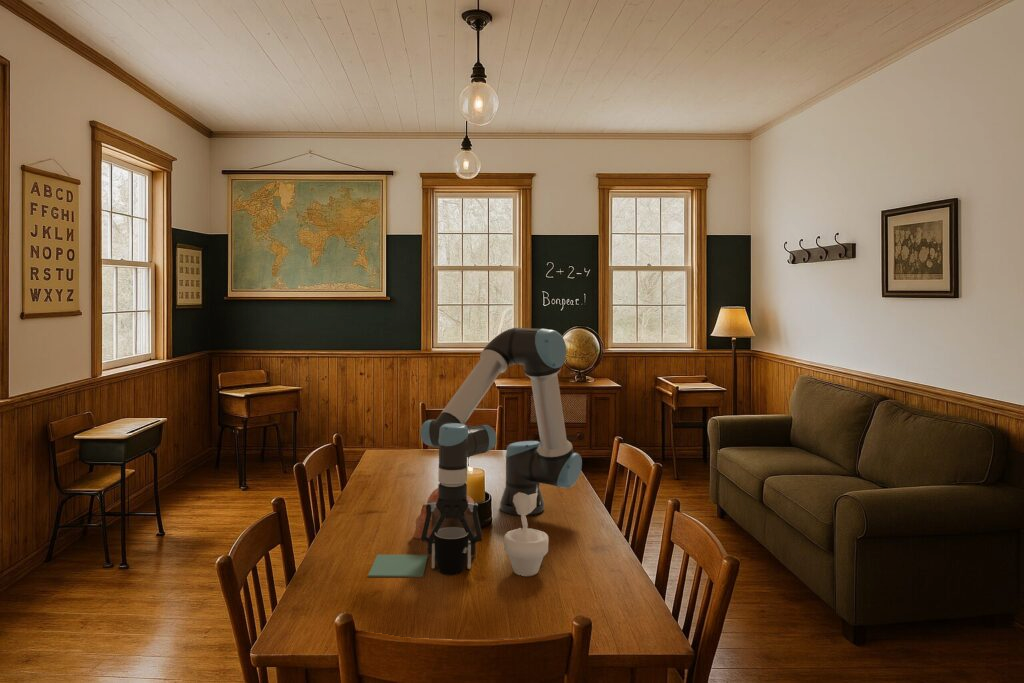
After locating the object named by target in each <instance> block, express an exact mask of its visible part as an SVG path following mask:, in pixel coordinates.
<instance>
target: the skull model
mask: <svg viewBox="0 0 1024 683" xmlns="http://www.w3.org/2000/svg"><path fill="white" fill-rule="evenodd" d="M437 501H438V487H436V488H435V489H434V490H433V491H432V492H431V493H430V495H429V496H428V499H427V501H426V503H423V504H422V507H421V509H420V510H421V511H420V514H419V515H417V517H416V519H415V528H414V532H413V537H414V538H415V539H417V540H421V536H422V532H423V528H424V524H425V519H426V515H427V511H426V505H427V503H428V502H431V503H433V502H437ZM467 501H468V503H475V501H474V499H473V498H472V497H471V496H470V495H469V494H467ZM431 532H432V514H431V519H430V523H429V527H428V531H427V535H428V536H430V534H431Z"/></svg>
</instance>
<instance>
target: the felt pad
mask: <svg viewBox="0 0 1024 683" xmlns="http://www.w3.org/2000/svg"><path fill="white" fill-rule="evenodd" d="M428 558H429V555H428V554H377V555H376V557H375V559H374V561H373V564H372V565H371V569H370V570H369V572H368V575H367V577H368V578H423V577H424V574H425V570H426V566H427V562H428V560H429V559H428Z"/></svg>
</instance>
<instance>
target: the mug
mask: <svg viewBox="0 0 1024 683" xmlns="http://www.w3.org/2000/svg"><path fill="white" fill-rule="evenodd" d="M468 537H469V535H468V532H467V533H466V531H465V529H463V528H458V527H446V528H441V529H439V530H438V532H437V534H436V532H435V533H434V545H435V557H436V563H435V564H436V567H437V569H438V572H439V573H441V574H442V575H446V576H447V575H448V576H455V575H459V574H461V573H463V571H464V569H465V566H466V562H467V559H468V558H467V550H468Z"/></svg>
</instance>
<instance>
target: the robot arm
mask: <svg viewBox="0 0 1024 683" xmlns="http://www.w3.org/2000/svg"><path fill="white" fill-rule="evenodd" d="M567 351H568V350H567V345H566V341H565V339H564V337H563V336H562V334H561V333H560V332H558V331H557V330H554V329H548V328H531V327H530V328H525V327H513V328H509V329H507V330H504V331H502V332H501V333H499V334H498V335H496V336H494V338H493V339H492V340H491V341H489V343H487V345H486V346H485V347H484V348H483V350H482V351H481V352H480V356H479V358H480V359H479V360H478V362H477V363H476V364H475V366H474V367H473V368H472V370H471V372H470V373H469V374H468V375H467V377H466V378H465V380H464V381H463V382H462V384H461V385H460V386H459V388H458V389H457V390H456V392H455V394H454V395H453V396H452V397H451V399H450V400H449V402H447V404H446V406H445V407H444V408H443V410H442V411H441V412H440V414H439V415H438V417H436V419H435V418H434V419H433V418H432V419H427V420H426V421H424V422H423V423H422V425H421V427H420V431H419V432H420V434H419V435H420V439H421V441H422V443H423V444H425V445H426V446H430V447H433V448H436V449H437V448H438V470H437V471H438V473H437V474H438V476H437V477H438V484H437V486H438V487H437V488H438V501H437V503H431V502H428V503H427V502H426V504H427V505H426V511H427V515H426V519H425V524H424V528H423V532H422V536H421V539H420V541H422V542H426V543H427V555H428V556H431V555H432V558H431V569H435V567H436V564H437V563H436V557H435V545H434V533H435V532H436V534H437V532H438V530H439V528H440V526H441V524H442V522H443V521H444V519H445V518H455V519H458V518H459V520H460V522H461V523H462V525H463V527H464V529H465V531H466V533H467V532H468V535H469V537H468V538H469V540H470V541H468V558H467V569H469V570H470V569H471V566H472V564H471V563H472V558H471V555H475V556H476V544H477V543H478V542H479V543H480V542H482V541H483V533H482V528H481V523H480V519H479V513H478V510H479V504H478V502H474V504H473V503H468V501H467V495H468V494H467V493H468V492H467V491H468V484H467V481H468V458H470V457H473V456H476V455H482V454H485V453H487V452H489V451H492V450H493V449H494V448H495V447H496V445H497V440H498V439H497V438H498V437H497V433H496V431H495V429H494V428H493V427H492V426H490V425H489V424H488V425H487V424H479V425H476V426H475V425H469V424H466V423H467V421H468V420H469V418H470V417H471V415H472V414H473V413H474V411H475V409H476V408H477V407H478V405H479V404H480V402H482V400H483V398H484V397H485V395H486V394H487V393H488V391H489V389H490V388H491V387H492V385H493V384H494V382H495V381H496V379H497V378H498V376H499V375H500V374H502V373H503V374H504V373H505V372H506V371H507V369H509V367H510V366H513V365H519V366H520V365H521V366H523V370H524V371H523V372H524V375H525V376H527V377H528V378H530V383H531V390H532V396H533V403H534V410H535V414H536V416H535V417H536V421H537V428H538V434H539V435H538V436H539V440H540V441H538V440H523V441H522V440H521V441H515V442H512V443H509V444H508V445H507V447H506V451H505V452H506V453H505V487H504V489H503V490H504V491H503V494H502V496H501V499H500V501H499V503H500V504H499V505H500V506H499V509H500V511H501V510H502V511H501V512H503V511H504V512H503V513H505V512H506V514H508V513H510V514H509V515H512V514H514V515H513V516H520V515H519V514H518V513H517V511H516V507H515V505H514V503H513V497H514V495H515V494H517V493H518V492H520V493H524V494H527V495H530V494H534V493H536V489H537V488H538V491H537V493H538V495H537V500H536V508H535V509H534V510H533V511H532V512H531V513H529V514H527V515H526V516H533V515H532V514H535V515H538V514H537V513H539V514H541V513H543V512H544V511H545V501H544V498H543V494H542V492H541V487H540V484H542V485H543V484H544V485H549V486H555V487H557V488H566V489H569V488H571V487H573V486H574V485H576V483H577V482H578V480H579V477H580V474H581V472H582V469H583V468H582V467H583V466H582V465H583V459H582V456H581V455H580V454H579V453H578V452H574V449H573V444H572V442H570V441H569V440H568V439H567V433H566V425H565V418H564V412H563V411H564V410H563V405H562V398H561V389H560V384H559V377H558V374H559V373H560V372H561V370H562V367H563V366H564V365H565V363H566V359H567V357H566V355H567V353H568V352H567ZM540 502H541V503H540ZM436 507H437V508H438V510H439V511H440V512H441V514H440V516H439V518H438V520H437V522H436V524H435V526H434V528H433V530H432V532H431V534H430V536H428V535H427V531H428V527H429V523H430V519H431V514H432V512H433V511H434V509H435V508H436ZM467 508H470V511H471V512H473V520H474V525H475V536H474V534H473V532H472V530H471V528H470V525H469V523H468V521H467V519H466V517H465V514H464V512H465V510H466V509H467ZM543 510H544V511H543ZM542 511H543V512H542ZM540 512H541V513H540Z"/></svg>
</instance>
